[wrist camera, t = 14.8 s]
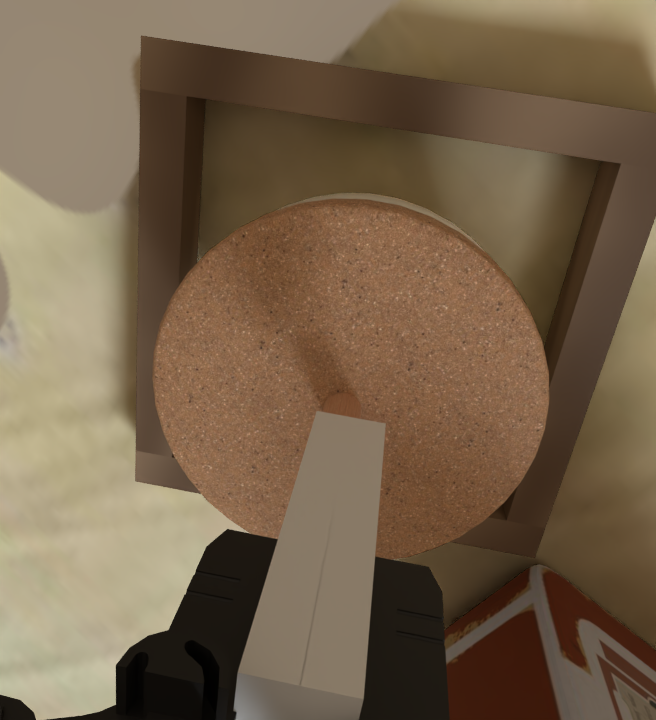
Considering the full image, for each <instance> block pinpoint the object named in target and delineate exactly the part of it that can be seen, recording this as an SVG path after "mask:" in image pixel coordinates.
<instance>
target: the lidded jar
mask: <svg viewBox="0 0 656 720" xmlns="http://www.w3.org/2000/svg"><path fill="white" fill-rule="evenodd" d="M152 380H153V389H154V397H155V406H156V410H157V413H158V417H159V420H160V424H161V427H162V430H163V433H164V435H165V438H166V440H167V442H168V444H169V446H170V448H171V451H172V453H173V455H174V457H175V459H176V460H177V462H178V463H179V465H180V466H181V468H182V469H183V471H184V472H185V474H186V475H187V477H188V478H189V480H190V481H191V482H192V483H193V484H194V486H195V487H196V488H197V489H198V490H199V491H200V493H201V494H202V495H203V496H204V497H205V498H206V500H207V501H208V502H210V503H211V504H212V505H213V506H214V507H215V508H217V509H218V510H219V511H220V512H221V513H223V514H224V515H225V516H226V517H227V518H229V519H230V520H231V521H233V522H234V523H236V524H237V525H239V526H240V527H242V528H243V529H245V530H246V531H248V532H249V533H251V534H254V535H259V536H264V537H269V538H274V539H278V538H279V534H280V531H281V528H282V524H283V521H284V518H285V514H286V511H287V508H288V504H289V501H290V498H291V495H292V491H293V488H294V485H295V481H296V478H297V475H298V471H299V468H300V465H301V462H302V458H303V455H304V452H305V448H306V445H307V442H308V438H309V435H310V432H311V429H312V425H313V422H314V419H315V415H316V412H317V411H321V412H326V413H331V414H337V415H342V416H348V417H353V418H358V419H364V420H369V421H375V422H380V423H386V427H385V440H384V452H383V464H382V477H381V489H380V502H379V514H378V526H377V539H376V551H375V557H380V558H385V559H397V558H404V557H409V556H412V555H415V554H419V553H422V552H425V551H428V550H431V549H434V548H436V547H439V546H441V545H443V544H445V543H448V542H450V541H452V540H454V539H456V538H459V537H460V536H462V535H463V534H465V533H466V532H468V531H469V530H471V529H472V528H474V527H475V526H477V525H478V524H480V523H481V522H483V521H484V520H485V519H487V518H488V517H489V516H490V515H491V514H492V513H493V512H494V511H495V510H497V509H498V508H499V507H500V506H501V505H502V504H503V503H504V502H505V501H506V500H507V499H508V497H509V496H510V495H511V494H512V492H513V491H514V490H515V489H516V487H517V486H518V485H519V484H520V482H521V481H522V480H523V478H524V476H525V474H526V472H527V471H528V469H529V467H530V465H531V464H532V462H533V460H534V458H535V456H536V454H537V451H538V448H539V445H540V442H541V439H542V437H543V434H544V431H545V426H546V420H547V414H548V407H549V371H548V366H547V361H546V356H545V351H544V346H543V342H542V339H541V337H540V334H539V332H538V329H537V327H536V324H535V322H534V319H533V317H532V314H531V312H530V310H529V308H528V307H527V305H526V304H525V302H524V300H523V299H522V297H521V296H520V294H519V292H518V291H517V289H516V288H515V286H514V284H513V283H512V281H511V280H510V278H509V277H508V276H507V275H506V274H505V273H504V272H503V271H502V269H501V268H500V267H499V266H498V265H497V264H496V263H495V262H494V260H493V259H492V258H491V257H490V256H489V255H488V254H487V253H486V252H485V251H484V250H483V249H482V248H481V247H480V246H479V245H478V244H477V242H476V241H475V240H473V239H472V238H471V237H470V236H468V235H467V234H466V233H465V232H463V231H462V230H461V229H460V228H458V227H457V226H456V225H455V224H453V223H452V222H450V221H448V220H446V219H445V218H443V217H441V216H439V215H437V214H436V213H434V212H432V211H430V210H428V209H426V208H425V207H422V206H419V205H416V204H413V203H411V202H408V201H405V200H402V199H400V198H395V197H389V196H384V195H379V194H373V193H337V194H330V195H323V196H316V197H311V198H308V199H305V200H302V201H298V202H295V203H292V204H289V205H286V206H284V207H282V208H280V209H278V210H276V211H273V212H270V213H267V214H265V215H263V216H261V217H260V218H258V219H256V220H254V221H252V222H250V223H248V224H246V225H244V226H242V227H240V228H238V229H237V230H235V231H234V232H233V233H231V234H230V235H229V236H227V237H226V238H225V239H223V240H222V241H221V242H219V243H218V244H217V245H215V246H214V247H213V248H211V249H210V250H209V251H208V252H207V253H206V254H205V255H204V256H203V257H202V258H201V259H200V260H199V261H198V263H197V264H196V265H195V266H194V267H193V268H192V269H191V270H190V271H189V272H188V273H187V275H186V276H185V278H184V279H183V281H182V282H181V284H180V285H179V287H178V288H177V290H176V291H175V293H174V295H173V296H172V298H171V300H170V302H169V304H168V307H167V309H166V311H165V314H164V316H163V319H162V321H161V323H160V327H159V331H158V335H157V340H156V344H155V349H154V357H153V377H152Z"/></svg>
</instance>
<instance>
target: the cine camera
mask: <svg viewBox="0 0 656 720" xmlns="http://www.w3.org/2000/svg"><path fill="white" fill-rule="evenodd" d="M444 633H445V643H444V646H445V650H446V666H447V683H448V700H449V716H450V720H656V650H654V649H653V648H652V647H651V646H649V645H648V644H647V643H646V642H644V641H643V640H642V639H640V638H639V637H638V636H637V635H635V634H634V633H633V632H632V631H630V630H629V629H628V628H627V627H625V626H624V625H623V624H621V623H620V622H619V621H618V620H616V619H615V618H614V617H613V616H611V615H610V614H609V613H608V612H606V611H605V610H604V609H602V608H601V607H600V606H599V605H597V604H596V603H595V602H594V601H592V600H591V599H590V598H589V597H587V596H586V595H585V594H583V593H582V592H581V591H580V590H578V589H577V588H576V587H575V586H573V585H572V584H571V583H569V582H568V581H567V580H566V579H564V578H563V577H562V576H560V575H559V574H557V573H556V572H555V571H553V570H551V569H550V568H548V567H546V566H543V565H535V566H532V567H530V568H528V569H526V570H525V571H524V572H522V573H521V574H519V575H518V576H517V577H515V578H514V579H513V580H511V581H510V582H509V583H507V584H506V585H505V586H503V587H502V588H501V589H499V590H498V591H497V592H495V593H494V594H492V595H491V596H490V597H488V598H487V599H486V600H484V601H483V602H482V603H480V604H479V605H478V606H476V607H475V608H474V609H472V610H471V611H469V612H468V613H467V614H465V615H464V616H463V617H461V618H460V619H459V620H457V621H456V622H455V623H453V624H452V625H451V626H449V627H448V628H447V629H446V630H444Z"/></svg>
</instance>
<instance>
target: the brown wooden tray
mask: <svg viewBox="0 0 656 720" xmlns="http://www.w3.org/2000/svg"><path fill="white" fill-rule="evenodd" d="M206 99H208V100H215V101H221V102H228V103H234V104H241V105H247V106H253V107H260V108H266V109H273V110H279V111H286V112H292V113H299V114H305V115H311V116H318V117H324V118H331V119H337V120H344V121H350V122H356V123H363V124H369V125H376V126H382V127H389V128H395V129H401V130H408V131H414V132H421V133H427V134H434V135H440V136H446V137H453V138H459V139H466V140H472V141H479V142H485V143H491V144H498V145H504V146H511V147H517V148H524V149H530V150H536V151H543V152H549V153H556V154H562V155H569V156H575V157H581V158H588V159H594V160H601V163H600V166H599V170H598V173H597V176H596V179H595V183H594V186H593V189H592V192H591V196H590V199H589V202H588V205H587V209H586V212H585V215H584V218H583V222H582V225H581V228H580V231H579V235H578V238H577V241H576V244H575V248H574V251H573V254H572V257H571V261H570V264H569V267H568V270H567V274H566V277H565V280H564V283H563V287H562V290H561V293H560V296H559V300H558V303H557V306H556V309H555V313H554V316H553V319H552V322H551V326H550V329H549V332H548V336H547V339H546V342H545V345H544V351H545V356H546V361H547V366H548V371H549V407H548V414H547V420H546V426H545V431H544V434H543V437H542V439H541V442H540V445H539V448H538V451H537V454H536V456H535V458H534V460H533V462H532V464H531V465H530V467H529V469H528V471H527V472H526V474H525V476H524V478H523V480H522V481H521V482H520V484H519V485H518V486H517V487H516V489H515V490H514V491H513V492H512V494H511V495H510V496H509V497H508V499H507V500H506V501H505V502H504V503H503V504H502V505H501V506H500V507H499V508H498V509H497V510H495V511H494V512H493V513H492V514H491V515H490V516H489V517H488V518H487V519H485V520H484V521H483V522H481V523H480V524H478V525H477V526H475V527H474V528H472V529H471V530H469V531H468V532H466V533H465V534H463V535H462V536H460V537H459V538H456V539H454V540H452V541H450V542H454V543H460V544H465V545H470V546H475V547H480V548H486V549H491V550H496V551H501V552H506V553H512V554H517V555H522V556H527V557H532V558H535V555H536V553H537V550H538V547H539V544H540V541H541V538H542V536H543V533H544V530H545V527H546V524H547V522H548V519H549V516H550V513H551V510H552V507H553V505H554V502H555V499H556V496H557V493H558V491H559V488H560V485H561V482H562V479H563V476H564V474H565V471H566V468H567V465H568V462H569V459H570V457H571V454H572V451H573V448H574V445H575V443H576V440H577V437H578V434H579V431H580V428H581V426H582V423H583V420H584V417H585V414H586V412H587V409H588V406H589V403H590V400H591V397H592V395H593V392H594V389H595V386H596V383H597V381H598V378H599V375H600V372H601V369H602V366H603V364H604V361H605V358H606V355H607V352H608V349H609V347H610V344H611V341H612V338H613V335H614V333H615V330H616V327H617V324H618V321H619V318H620V316H621V313H622V310H623V307H624V304H625V302H626V299H627V296H628V293H629V290H630V287H631V285H632V282H633V279H634V276H635V273H636V271H637V268H638V265H639V262H640V259H641V256H642V254H643V251H644V248H645V245H646V242H647V239H648V237H649V234H650V231H651V228H652V225H653V223H654V220H655V217H656V113H651V112H645V111H638V110H631V109H625V108H618V107H612V106H605V105H598V104H592V103H585V102H578V101H572V100H565V99H558V98H552V97H545V96H538V95H532V94H525V93H519V92H512V91H505V90H499V89H492V88H485V87H479V86H472V85H465V84H459V83H452V82H445V81H439V80H432V79H426V78H419V77H412V76H406V75H399V74H392V73H386V72H379V71H372V70H366V69H359V68H352V67H346V66H339V65H333V64H326V63H319V62H312V61H306V60H299V59H293V58H286V57H279V56H273V55H266V54H259V53H253V52H246V51H239V50H233V49H226V48H220V47H213V46H206V45H200V44H193V43H186V42H180V41H173V40H166V39H160V38H153V37H147V36H141V80H140V158H139V236H138V313H137V391H136V469H135V481H137V482H142V483H147V484H152V485H158V486H163V487H168V488H173V489H179V490H184V491H189V492H194V493H199V494H201V493H200V491H199V490H198V489H197V488H196V487H195V486H194V484H193V483H192V482H191V481H190V480H189V478H188V477H187V475H186V474H185V472H184V471H183V469H182V468H181V466H180V465H179V463H178V462H177V460H176V459H175V457H174V455H173V453H172V451H171V448H170V446H169V444H168V442H167V440H166V438H165V435H164V433H163V430H162V427H161V424H160V420H159V417H158V413H157V410H156V406H155V397H154V389H153V380H152V377H153V357H154V349H155V344H156V340H157V335H158V331H159V327H160V323H161V321H162V319H163V316H164V314H165V311H166V309H167V307H168V304H169V302H170V300H171V298H172V296H173V295H174V293H175V291H176V290H177V288H178V287H179V285H180V284H181V282H182V281H183V279H184V278H185V276H186V275H187V273H188V272H189V271H190V270H191V269H192V268H193V267H194V266H195V265H196V264H197V254H198V235H199V216H200V197H201V179H202V160H203V141H204V122H205V103H206Z"/></svg>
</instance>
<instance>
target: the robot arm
mask: <svg viewBox="0 0 656 720" xmlns="http://www.w3.org/2000/svg"><path fill="white" fill-rule="evenodd" d="M385 427H386V423H380V422H375V421H369V420H364V419H358V418H353V417H348V416H342V415H337V414H331V413H326V412H321V411H317V412H316V415H315V419H314V422H313V425H312V429H311V432H310V435H309V438H308V442H307V445H306V448H305V452H304V455H303V458H302V462H301V465H300V468H299V471H298V475H297V478H296V481H295V485H294V488H293V491H292V495H291V498H290V501H289V504H288V508H287V511H286V514H285V518H284V521H283V524H282V528H281V531H280V534H279V538H278V539H274V538H269V537H264V536H259V535H254V534H249V533H244V532H239V531H234V530H229V529H227V530H226V531H224V532H223V533H222V534H221V535H220V536H219V537H217V538H216V539H215V540H214V541H213V542H212V543H210V544H209V545H208V546H207V547H206V549H205V551H204V554H203V556H202V558H201V560H200V562H199V564H198V567H197V569H196V573H195V575H193V578H192V580H191V582H190V584H189V586H188V589H187V592H186V595H184V597H183V600H182V602H181V604H180V606H179V608H178V611H177V613H176V615H175V617H174V619H173V621H172V624H171V626H170V628H169V630H168V631H164V632H160V633H157V634H153V635H149V636H147V637H146V638H144V639H143V640H141V641H139V642H138V643H136V644H135V645H133V646H132V647H130V648H129V649H128V651H127V652H126V653H125V654H124V656H123V657H122V658H121V659H120V661H119V662H118V663H117V665H116V705H114V706H112V707H110V708H107V709H105V710H103V711H100V712H97V713H92V714H87V715H83V716H75V717H66V718H57V719H48V720H450V716H449V700H448V683H447V666H446V650H445V646H444V643H445V633H444V623H443V619H444V617H443V600H442V591H441V589H440V587H439V585H438V584H437V582H436V580H435V578H434V576H433V574H432V572H431V571H430V569H429V567H426V566H421V565H416V564H411V563H406V562H401V561H396V560H391V559H385V558H380V557H375V551H376V539H377V526H378V514H379V502H380V489H381V477H382V464H383V452H384V440H385ZM0 720H36V718H35V715H34V712H33V711H32V710H31V709H29V708H28V707H27V706H26V705H25V704H24V703H23V702H22V701H21V700H18V699H14V698H10V697H7V696H3V695H0Z"/></svg>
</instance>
